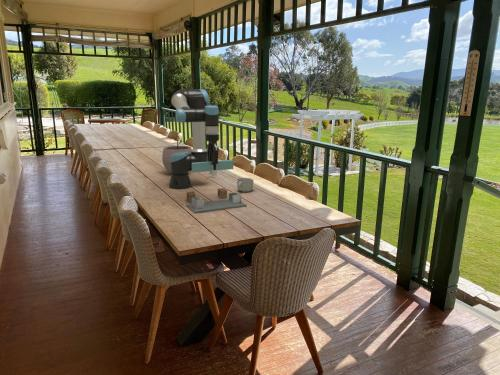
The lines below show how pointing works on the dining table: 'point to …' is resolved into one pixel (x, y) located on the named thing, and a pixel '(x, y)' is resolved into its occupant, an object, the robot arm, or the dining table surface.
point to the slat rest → (221, 194)
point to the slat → (208, 167)
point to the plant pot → (171, 150)
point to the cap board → (216, 206)
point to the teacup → (245, 184)
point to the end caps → (199, 203)
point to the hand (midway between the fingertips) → (213, 174)
